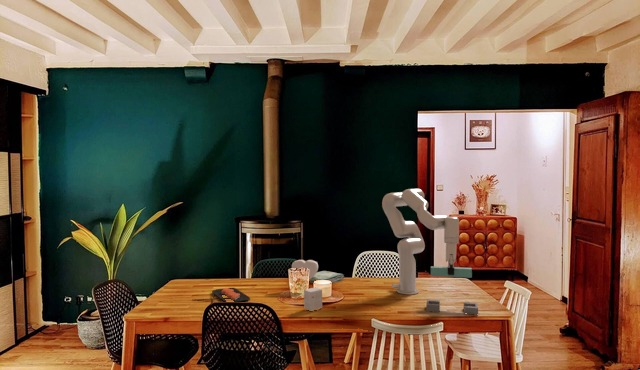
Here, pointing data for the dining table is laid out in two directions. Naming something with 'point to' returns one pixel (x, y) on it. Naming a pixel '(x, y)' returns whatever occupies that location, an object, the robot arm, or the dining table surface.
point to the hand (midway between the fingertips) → (450, 273)
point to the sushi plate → (229, 295)
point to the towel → (327, 276)
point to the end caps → (435, 307)
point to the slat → (457, 272)
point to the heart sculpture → (307, 266)
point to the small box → (313, 299)
